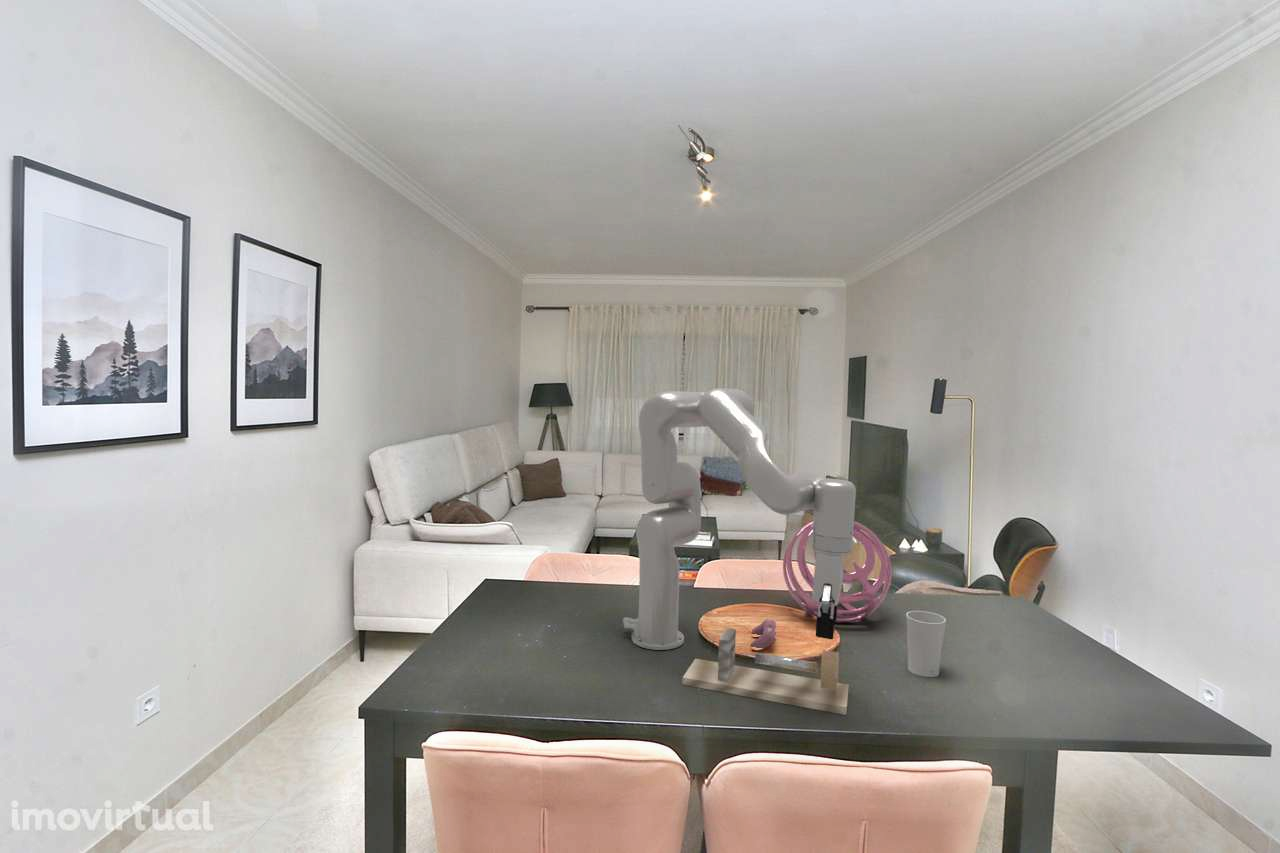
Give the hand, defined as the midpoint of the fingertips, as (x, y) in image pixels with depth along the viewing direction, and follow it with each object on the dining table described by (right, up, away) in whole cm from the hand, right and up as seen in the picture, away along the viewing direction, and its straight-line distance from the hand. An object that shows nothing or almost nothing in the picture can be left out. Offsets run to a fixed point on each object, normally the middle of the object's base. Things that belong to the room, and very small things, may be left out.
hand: (826, 628), depth 126 cm
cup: (+25, -14, +15) cm, 33 cm away
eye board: (-11, -14, +5) cm, 18 cm away
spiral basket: (+16, -12, +47) cm, 51 cm away
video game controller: (-7, -13, +27) cm, 31 cm away
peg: (-5, -11, +2) cm, 12 cm away
